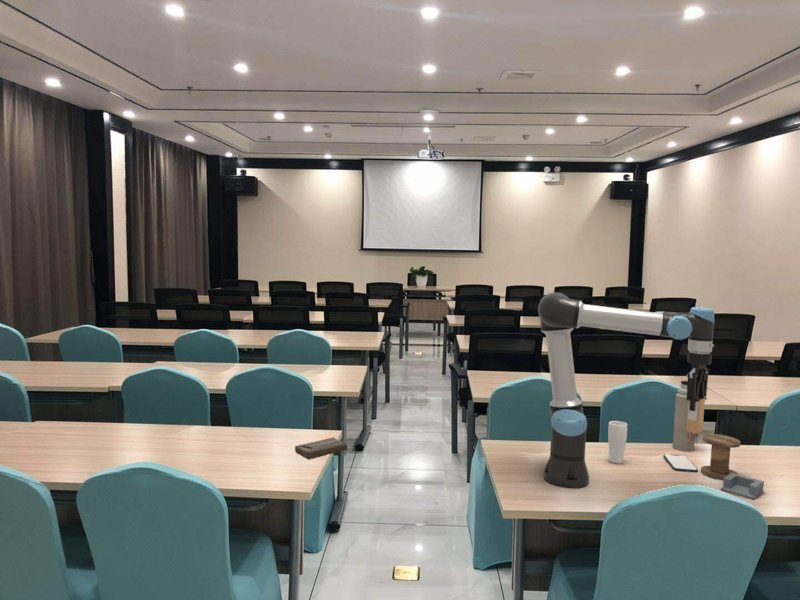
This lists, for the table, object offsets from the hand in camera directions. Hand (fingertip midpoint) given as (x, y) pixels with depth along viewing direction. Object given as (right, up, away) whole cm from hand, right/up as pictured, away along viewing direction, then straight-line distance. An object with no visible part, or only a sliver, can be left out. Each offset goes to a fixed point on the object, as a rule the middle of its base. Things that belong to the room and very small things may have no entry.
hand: (695, 418), depth 210 cm
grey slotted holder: (+13, -23, -7) cm, 27 cm away
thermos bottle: (+14, -20, +39) cm, 46 cm away
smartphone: (+4, -22, +19) cm, 29 cm away
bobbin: (+13, -22, +9) cm, 27 cm away
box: (-133, -18, +21) cm, 136 cm away
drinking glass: (-21, -21, +20) cm, 35 cm away
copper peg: (0, -5, 0) cm, 5 cm away
